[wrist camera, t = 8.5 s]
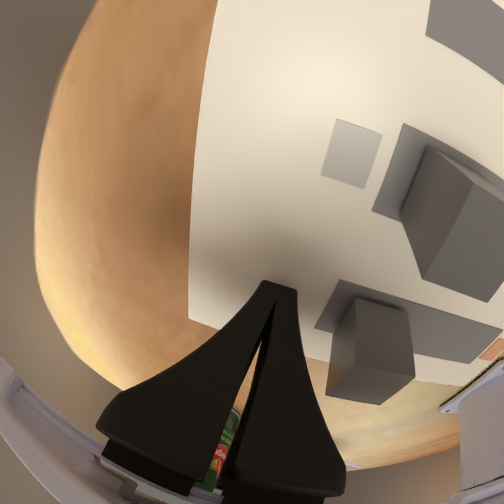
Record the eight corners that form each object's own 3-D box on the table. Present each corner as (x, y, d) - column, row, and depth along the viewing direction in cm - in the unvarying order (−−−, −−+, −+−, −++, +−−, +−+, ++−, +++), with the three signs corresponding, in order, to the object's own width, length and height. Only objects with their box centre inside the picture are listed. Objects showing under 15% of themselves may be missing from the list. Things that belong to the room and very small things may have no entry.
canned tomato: (255, 418, 24) (224, 509, 16) (216, 422, 29) (186, 494, 20) (193, 383, 23) (146, 482, 14) (163, 392, 27) (124, 467, 19)
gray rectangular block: (486, 178, 6) (536, 226, 3) (455, 240, 7) (487, 303, 5) (427, 145, 6) (474, 183, 4) (398, 216, 7) (421, 279, 5)
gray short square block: (407, 312, 9) (415, 377, 7) (379, 346, 11) (379, 405, 8) (355, 297, 10) (354, 364, 7) (332, 334, 11) (325, 395, 9)
